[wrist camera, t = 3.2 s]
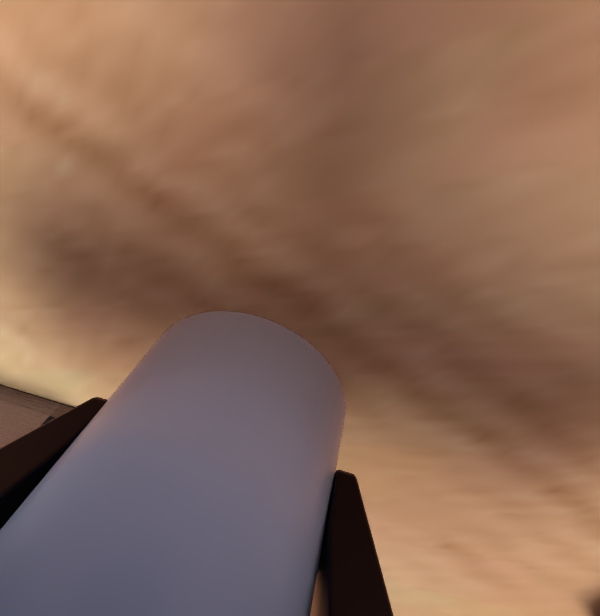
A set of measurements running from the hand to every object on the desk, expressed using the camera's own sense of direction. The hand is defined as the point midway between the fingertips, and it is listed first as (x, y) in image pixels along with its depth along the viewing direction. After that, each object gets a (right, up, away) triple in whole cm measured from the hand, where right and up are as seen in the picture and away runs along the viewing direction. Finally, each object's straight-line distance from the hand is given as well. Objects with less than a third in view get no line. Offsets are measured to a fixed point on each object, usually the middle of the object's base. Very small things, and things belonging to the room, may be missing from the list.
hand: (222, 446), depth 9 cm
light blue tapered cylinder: (0, +1, +1) cm, 2 cm away
